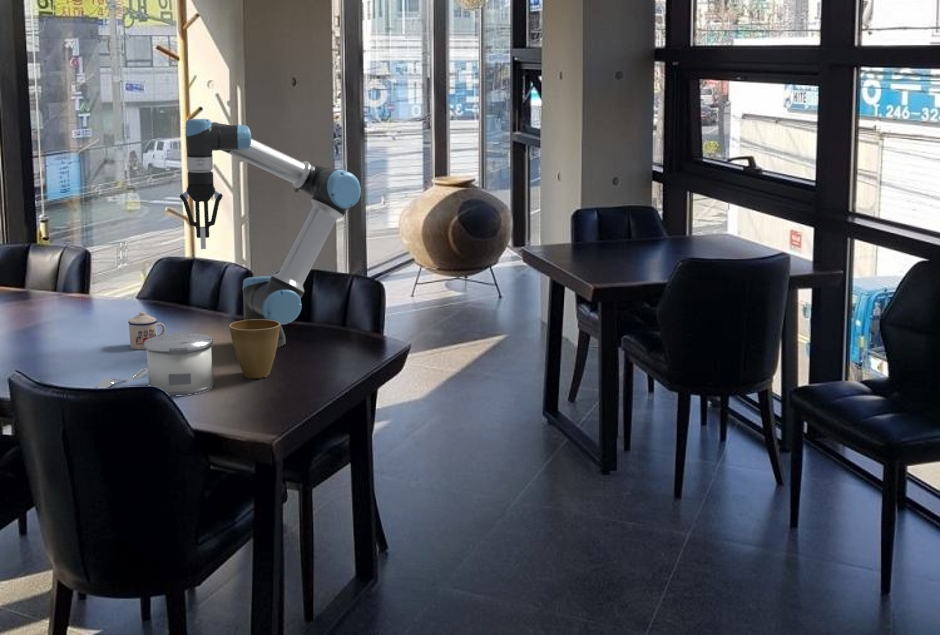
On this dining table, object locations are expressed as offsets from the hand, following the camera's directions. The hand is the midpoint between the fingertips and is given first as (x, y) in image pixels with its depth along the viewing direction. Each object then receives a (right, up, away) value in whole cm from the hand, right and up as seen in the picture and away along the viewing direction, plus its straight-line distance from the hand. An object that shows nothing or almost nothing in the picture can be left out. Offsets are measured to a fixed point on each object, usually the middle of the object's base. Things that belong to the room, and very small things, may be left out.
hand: (203, 248), depth 336 cm
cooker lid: (-2, -30, -21) cm, 36 cm away
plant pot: (+17, -39, -4) cm, 43 cm away
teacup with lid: (-25, -31, +28) cm, 48 cm away
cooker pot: (-2, -41, -17) cm, 45 cm away
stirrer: (-20, -41, -12) cm, 47 cm away
